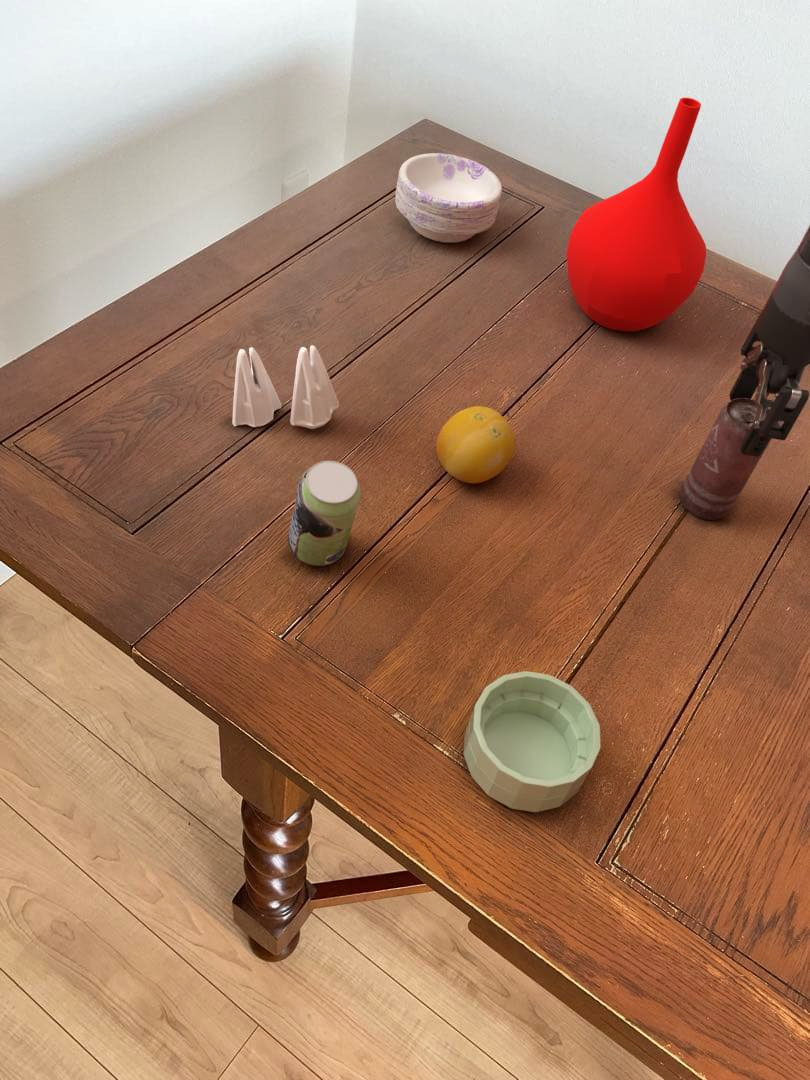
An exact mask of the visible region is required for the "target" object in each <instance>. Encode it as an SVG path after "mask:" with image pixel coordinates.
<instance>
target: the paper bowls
mask: <svg viewBox="0 0 810 1080" xmlns="http://www.w3.org/2000/svg"><path fill="white" fill-rule="evenodd" d="M502 193H503V185H502V183H501V181H500V178H499V177H498V175H496V174H495V173H494V172H493V170H491V169H490V168H488V167H486V166H485V165H483V164H481V163H479V162H477V161H475V160H472V159H469V158H466V157H463V156H461V155H455V154H451V153H442V152H441V153H439V152H433V153H432V152H431V153H423V154H422V153H421V154H418V155H414V156H412V157H410V158H408V159H407V160H405V161H404V162H403V163H402V164H401V166H400V168H399V170H398V177H397V182H396V188H395V197H394V202H395V206H396V209H397V210H398V211H399V212H400V214H402V216H403V217H405V219H407V220H408V223H409V224H410V226H411V228H413V230H414V231H415V232H417V233H418V234H419V235H421V236H422V237H424V238H426V239H429V240H431V241H435V242H438V243H446V244H447V243H449V244H456V243H462V242H465V241H467V240H470V239H472V237H474V236H475V235H476V234H481V233H484V232H485V231H487V230H489V229H490V228H491V227H492V226H493V225H494V223H495V222H496V218H497V215H498V210H499V206H500V201H501V199H502Z"/></svg>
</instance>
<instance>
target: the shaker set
mask: <svg viewBox="0 0 810 1080" xmlns="http://www.w3.org/2000/svg"><path fill="white" fill-rule="evenodd" d="M248 354H249V358H248V355H247V352H246V350H245V349H243V348H240V349H239V350H238V352H237V356H236V365H235V376H234V386H233V387H234V389H233V401H232V402H233V403H232V418H231V419H232V422H231V424H232V425H233V427H237V426H243V425H247V426H249V427H252V428H257V427H262V426H264V425H267V424H269V423H270V422H271V421H273V420H274V414H275V413H274V412H275V411H276V410H279V409H282V407H283V404H282V402H281V401H280V398H279V395H278V393H277V390H276V389H275V387H274V385H273V383H272V380H271V378H270V375H269V374H268V372H267V370H266V368H265V366H264V363H263V361H262V359H261V357H260V356H259V353H258V352H257V351H256V349H255V348H254V347H252V346H251V347H249V348H248ZM249 361H250V362H249ZM339 407H340V402H339V401H338V398H337V395H336V392H335V389H334V387H333V384H332V381H331V378H330V376H329V374H328V371H327V369H326V366H325V364H324V361H323V359H322V355H321V354H320V352H319V350H318V348H317V347H316V346H315V345H313V344H311V345H310V346H309V351H308V349H307V348H306V347H305V346H302V347H300V349H299V350H298V355H297V359H296V367H295V375H294V383H293V391H292V399H291V409H290V420H289V423H290V425H291V426H294V427H295V426H298V427H303V428H305V429H306V428H307V429H310V430H315V429H318V428H322V427H323V426H325V425H326V424H327V423H328V422H329V421H330V420H331V419H332V414H333V413H334V411H336V409H338V408H339Z"/></svg>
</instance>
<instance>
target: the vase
mask: <svg viewBox="0 0 810 1080" xmlns="http://www.w3.org/2000/svg"><path fill="white" fill-rule="evenodd" d="M701 108H702V103H701V102H700V101H698V100H697V99H695V98H692V97H681V98H679V101H678V103H677V105H676V109H675V111H674V113H673V116H672V118H671V121H670V123H669V127H668V129H667V132H666V134H665V137H664V140H663V143H662V145H661V148H660V150H659V154H658V156H657V158H656V159H657V160H656V162H655V165H654V167H652V169H651V171H650V172H649V173H648V174H647V175H646V176H644V177H643V178H642V179H641V180H639V181H637V182H636V183H634V184H632V185H630V186H629V187H626V188H625V189H623V190H621V191H620V192H618V193H616V194H613V195H610V196H609V197H606V198H605V199H603V200H600V201H598V202H596V203H594V204H592V205H590V206H589V207H586V209H584V210H583V212H582V213H581V215H580V216H579V217H578V219H577V221H576V222H575V225H574V226H573V228H572V230H571V232H570V235H569V239H568V243H567V247H566V265H567V266H566V268H567V269H566V270H567V279H568V283H569V286H570V289H571V292H572V294H573V297H574V300H575V302H576V303H577V305H578V306H579V308H580V309H581V311H583V313H584V314H585V315H586V317H588V318H589V319H590V320H591V321H592V322H594V323H595V324H598V325H599V326H602V327H604V328H606V329H609V330H613V331H616V332H624V333H625V332H626V333H629V332H638V331H641V330H645V329H648V328H651V327H654V326H656V325H658V324H660V323H661V322H662V321H664V320H666V319H667V318H669V317H670V316H671V315H673V314H674V313H676V312H677V311H678V310H679V308H680V307H682V306H683V304H684V303H685V302H686V301H687V300H688V299H689V297H691V295H692V294H694V292H695V290H696V288H697V286H698V284H699V281H700V280H701V278H702V276H703V273H704V270H705V265H706V259H707V258H706V257H707V244H706V242H705V240H704V238H703V236H702V234H701V232H700V231H699V229H698V227H697V225H696V223H695V222H694V219H693V218H692V216H691V215H690V212H689V210H688V208H687V205H686V203H685V200H684V198H683V196H682V193H681V192H680V188H679V181H678V178H679V170H680V168H681V165H682V162H683V160H684V157H685V155H686V152H687V149H688V146H689V143H690V140H691V137H692V134H693V132H694V128H695V125H696V122H697V120H698V116H699V113H700V110H701Z"/></svg>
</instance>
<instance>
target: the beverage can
mask: <svg viewBox="0 0 810 1080" xmlns="http://www.w3.org/2000/svg"><path fill="white" fill-rule="evenodd" d="M297 484H298V485H297V489H296V495H295V500H294V505H293V509H292V516H291V521H290V526H289V531H288V539H287V540H288V546H289V549H290V551H291V552H292V554H293V555H294V556H295V557H296V558H297V559H298V560H300V561H301V562H303V563H305V564H307V565H310V566H316V567H322V566H323V567H325V566H328V565H331V564H333V563H335V562H337V561H338V560H340V558H341V557H342V556H343V555H344V553H345V551H346V548H347V544H348V542H349V538H350V535H351V531H352V527H353V524H354V520H355V517H356V515H357V514H356V513H357V510H358V507H359V504H360V499H361V496H362V495H361V493H362V491H361V486H360V483H359V481H358V479H357V477H356V474H355V473H354V471H353V470H352V469H351V468H350V467H349V466H347V465H346V464H344V463H342V462H339V461H336V460H324V461H323V460H322V461H320V462H317V463H315V464H313V465H312V466H311V467H310V468H308V469H307V470H306V471H305V472H304V473H303V474H302V475H301V477H300V479H299V482H298V483H297Z"/></svg>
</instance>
